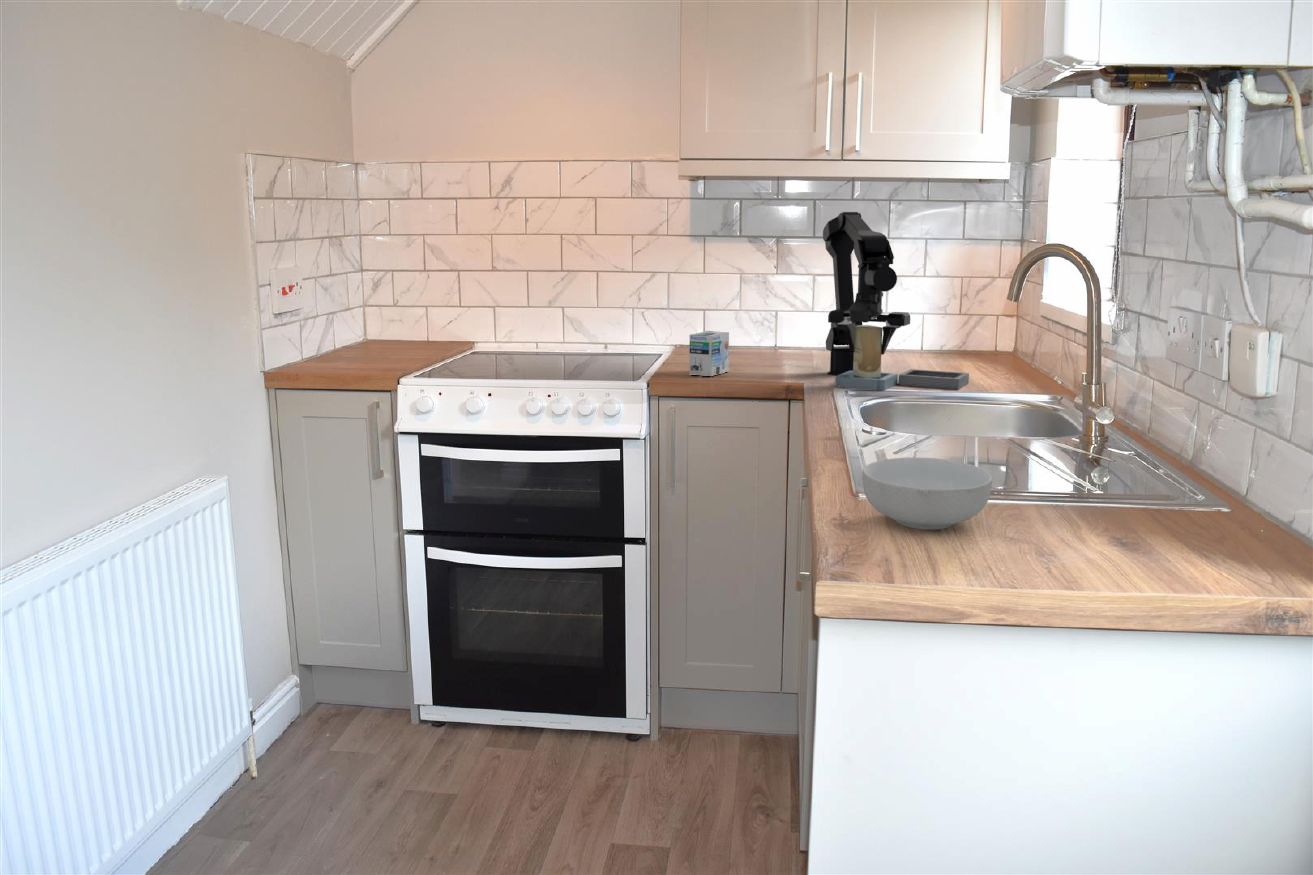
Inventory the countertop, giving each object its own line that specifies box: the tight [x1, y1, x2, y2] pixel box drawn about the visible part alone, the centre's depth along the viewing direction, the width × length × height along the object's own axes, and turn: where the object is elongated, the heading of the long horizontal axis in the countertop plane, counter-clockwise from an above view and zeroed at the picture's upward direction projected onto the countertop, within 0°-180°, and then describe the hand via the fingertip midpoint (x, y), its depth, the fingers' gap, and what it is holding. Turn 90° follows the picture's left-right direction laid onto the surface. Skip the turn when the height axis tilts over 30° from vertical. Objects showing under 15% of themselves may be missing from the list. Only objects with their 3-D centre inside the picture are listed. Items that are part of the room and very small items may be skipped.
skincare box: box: [853, 324, 883, 378], centre depth 250 cm, size 6×4×12 cm
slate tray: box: [834, 371, 899, 391], centre depth 252 cm, size 12×12×2 cm
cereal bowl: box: [862, 457, 993, 531], centre depth 141 cm, size 17×17×7 cm
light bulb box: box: [689, 330, 730, 376], centre depth 270 cm, size 11×7×11 cm, turn 151°
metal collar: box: [897, 368, 970, 391], centre depth 253 cm, size 14×10×2 cm
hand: (867, 353), depth 251 cm, fingers closed on skincare box, 7 cm apart
